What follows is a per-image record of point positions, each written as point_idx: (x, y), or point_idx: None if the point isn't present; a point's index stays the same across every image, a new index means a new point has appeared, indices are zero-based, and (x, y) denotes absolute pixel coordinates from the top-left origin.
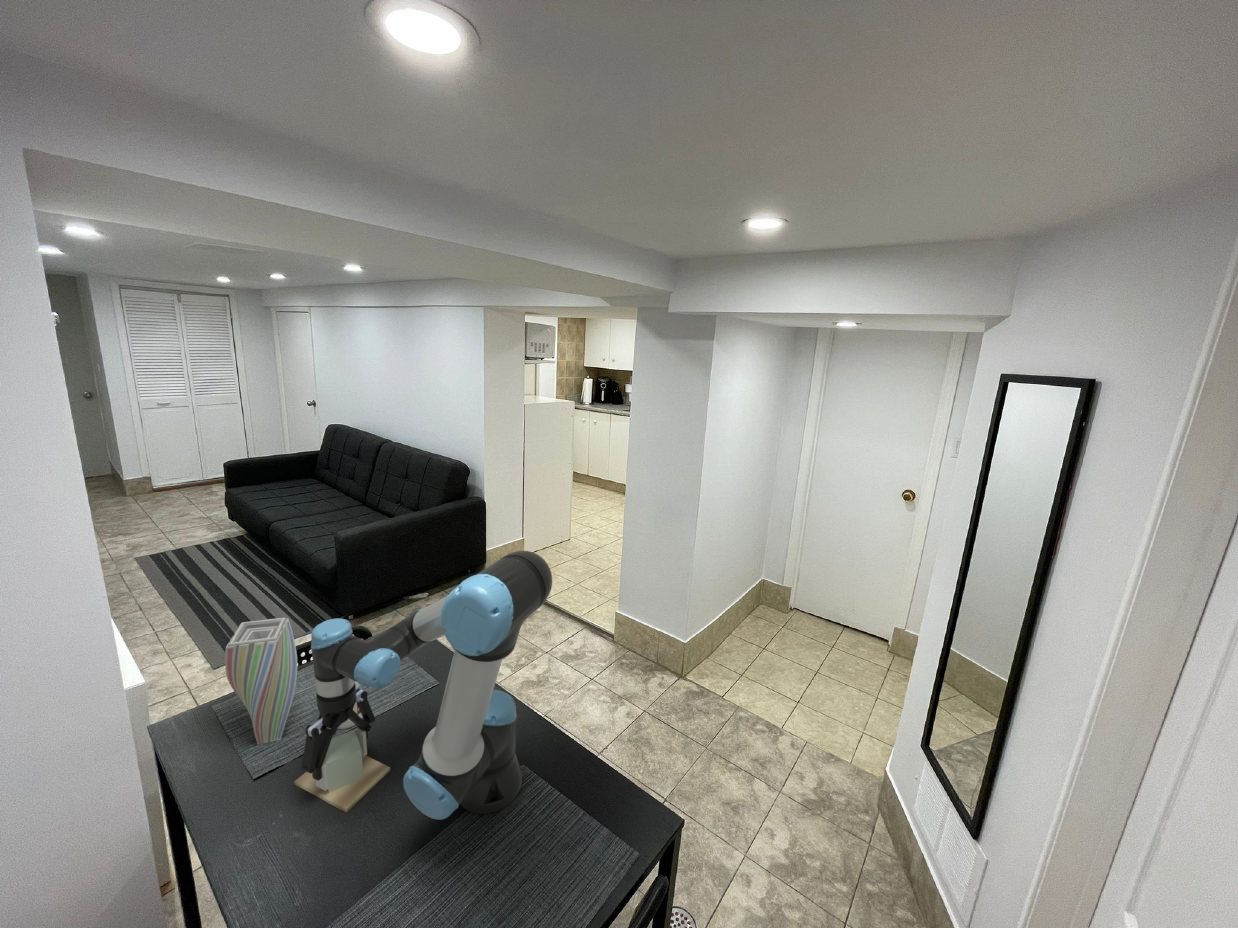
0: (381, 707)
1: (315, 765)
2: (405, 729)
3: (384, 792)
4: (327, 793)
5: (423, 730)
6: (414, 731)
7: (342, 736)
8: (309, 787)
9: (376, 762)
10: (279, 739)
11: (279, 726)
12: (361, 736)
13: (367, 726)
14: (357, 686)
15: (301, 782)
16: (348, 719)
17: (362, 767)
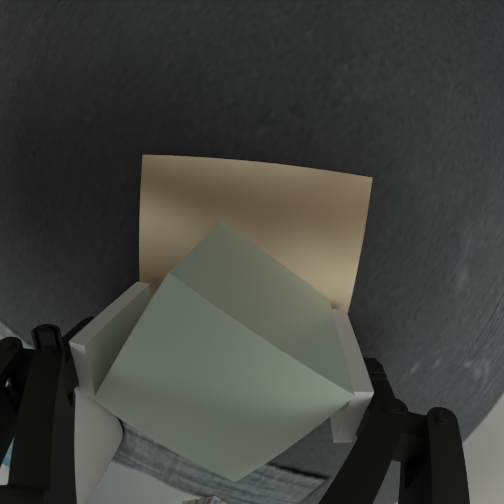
0: None
1: (406, 428)
2: (22, 239)
3: (241, 98)
4: (331, 301)
5: (6, 181)
6: (16, 205)
7: (156, 429)
8: None
9: (145, 225)
10: (216, 497)
11: None
12: (99, 345)
13: (44, 349)
14: (3, 468)
15: None
16: (87, 419)
17: (210, 234)
